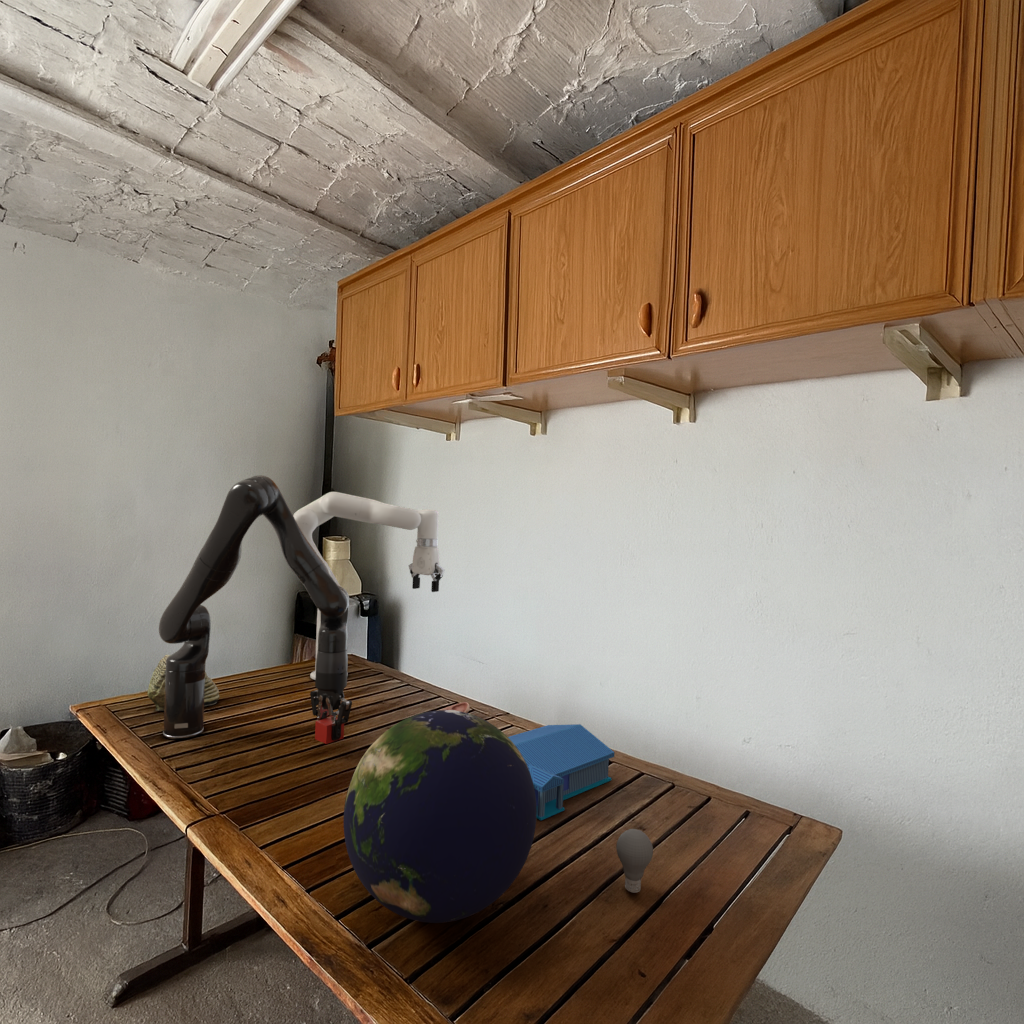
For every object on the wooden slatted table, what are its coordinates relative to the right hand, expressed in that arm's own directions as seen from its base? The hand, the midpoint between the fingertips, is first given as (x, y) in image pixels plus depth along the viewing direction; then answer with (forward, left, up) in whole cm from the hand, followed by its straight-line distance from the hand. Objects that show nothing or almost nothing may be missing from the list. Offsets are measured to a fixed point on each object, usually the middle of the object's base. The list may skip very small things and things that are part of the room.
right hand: (425, 590), depth 231 cm
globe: (+126, -46, -30) cm, 137 cm away
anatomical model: (+49, -12, -30) cm, 59 cm away
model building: (+97, -13, -30) cm, 102 cm away
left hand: (+60, -48, -26) cm, 81 cm away
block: (+61, -48, -26) cm, 81 cm away
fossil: (+10, -78, -30) cm, 84 cm away
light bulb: (+136, -15, -30) cm, 140 cm away
